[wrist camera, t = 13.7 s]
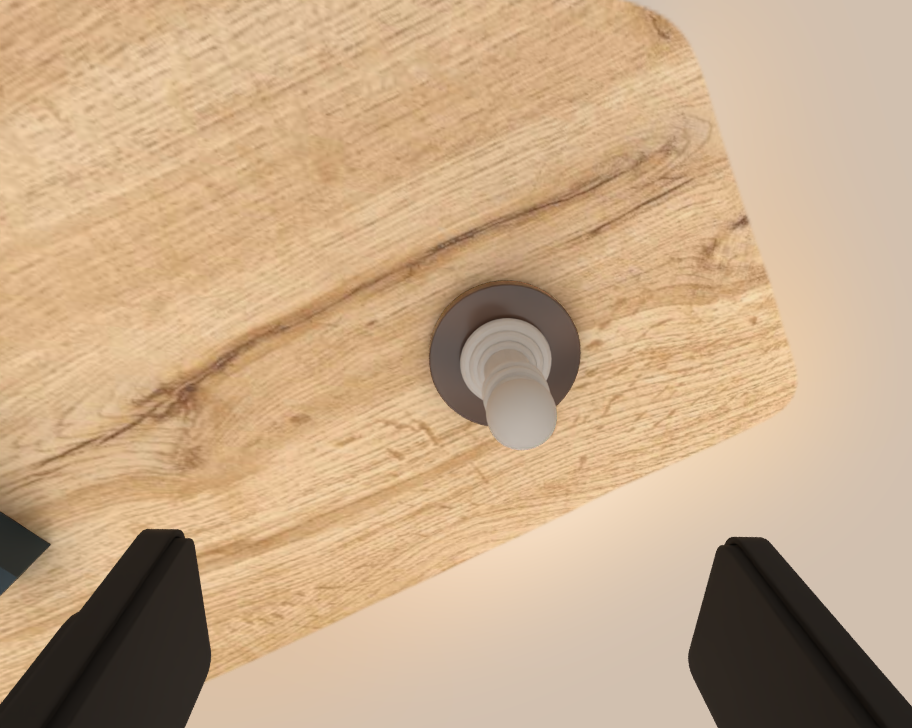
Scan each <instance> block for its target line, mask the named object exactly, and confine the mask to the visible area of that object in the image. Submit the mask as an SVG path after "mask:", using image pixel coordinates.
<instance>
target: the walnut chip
mask: <svg viewBox="0 0 912 728" xmlns="http://www.w3.org/2000/svg"><path fill="white" fill-rule="evenodd" d="M503 318H512V319H518V320H522V321H525V322H527V323H529V324H531V325H533V326H534V327H536V328H537V329H538V330H539V331H540V332H541V333H542V334H543V336H544V337H545V338H546V340H547V342H548V344H549V347H550V351H551V358H552V359H551V368H550V373H549V376H548V378H547V380H546V382H547V383H548V386H549V389H550V394H551V395H552V397H553V399H554V402H555V405H556V406H557V405H558V404H559V403H560V402H561V401H562V400H563V398H564V397H565V396H566V394H567V393H568V392H569V390H570V389H571V387H572V385H573V383H574V381H575V378H576V375H577V373H578V369H579V364H580V354H581V352H580V341H579V336H578V333H577V330H576V327H575V325H574V323H573V321H572V319H571V317H570V316H569V315H568V313H567V312H566V310H565V309H564V308H563V307H562V306H561V305H560V304H559V303H558V302H557V301H556V300H555V299H554V298H553V297H552V296H551V295H549V294H548V293H547V292H545V291H543V290H541V289H540V288H538V287H535V286H533V285H530V284H527V283H523V282H518V281H494V282H488V283H485V284H481V285H479V286H476V287H474V288H471V289H470V290H468V291H466V292H464V293H463V294H461V295H460V296H459V297H457V298H456V299H455V300H454V301H453V302H452V303H451V304H450V305H449V306H448V307H447V308H446V309H445V310H444V312H443V313H442V314H441V316H440V318H439V319H438V321H437V323H436V325H435V328H434V330H433V333H432V337H431V341H430V349H429V365H430V372H431V376H432V379H433V382H434V385H435V387H436V389H437V391H438V393H439V394H440V396H441V397H442V399H443V400H444V401H445V402H446V403H447V405H448V406H449V407H450V408H452V409H453V410H454V411H455V412H456V413H458V414H459V415H461V416H462V417H464V418H466V419H468V420H470V421H472V422H475V423H478V424H481V425H485V426H488V423H487V418H486V410H485V407H484V403H483V400H482V399H480V398H479V397H477V396H476V395H475V394H474V393H473V392H472V391H471V390H470V389H469V388H468V387H467V385H466V383H465V382H464V379H463V377H462V374H461V369H460V358H461V353H462V349H463V347H464V345H465V343H466V341H467V339H468V338H469V337H470V336H471V334H472V333H473V332H474V331H475V330H477V329H478V328H479V327H480V326H482V325H484V324H486V323H488V322H490V321H493V320H497V319H503Z"/></svg>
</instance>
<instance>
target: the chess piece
mask: <svg viewBox="0 0 912 728" xmlns="http://www.w3.org/2000/svg"><path fill="white" fill-rule="evenodd" d="M551 359H552V358H551V351H550V347H549V344H548V342H547V340H546V338H545V337H544V336H543V334H542V333H541V332H540V331H539V330H538V329H537V328H536V327H534V326H533V325H531V324H529V323H527V322H525V321H522V320H518V319H512V318H503V319H497V320H493V321H490V322H488V323H486V324H484V325H482V326H480V327H479V328H478V329H477V330H475V331H474V332H473V333H472V334H471V336H470V337H469V338H468V339H467V341H466V343H465V345H464V347H463V349H462V353H461V358H460V369H461V374H462V377H463V379H464V382H465V383H466V385H467V387H468V388H469V389H470V390H471V391H472V392H473V393H474V394H475V395H476V396H477V397H479V398H480V399H482V400H483V403H484V407H485V410H486V418H487V423H488V426H489V429H490V431H491V433H492V435H493V436H494V437H495V439H496V440H497V441H498V442H500V443H501V444H502V445H504V446H506V447H508V448H511V449H516V450H528V449H532V448H535V447H537V446H539V445H541V444H543V443H544V442H545V441H546V440H548V439H549V437H550V436H551V435H552V433H553V431H554V429H555V426H556V421H557V410H556V405H555V402H554V399H553V397H552V395H551V394H550V389H549V386H548V383H547V382H546V380H547V378H548V376H549V373H550V368H551Z"/></svg>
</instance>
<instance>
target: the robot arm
mask: <svg viewBox="0 0 912 728" xmlns="http://www.w3.org/2000/svg"><path fill="white" fill-rule="evenodd" d="M688 661H689V668H690V671H691V674H692V676H693V679H694V680H695V683H696V685H697V687H698V689H699V690H700V693H701V695H702V697H703V699H704V701H705V703H706V705H707V707H708V709H709V711H710V713H711V715H712V717H713V719H714V721H715V723H716V725H717V727H718V728H912V706H911V705H910V704H909V703H908V702H907V700H906V699H905V698H904V697H903V696H902V695H901V694H900V693H899V691H898V690H897V689H896V688H895V687H894V686H893V684H892V683H891V682H890V681H889V680H888V678H887V677H886V676H885V675H884V674H883V673H882V671H881V670H880V669H879V668H878V667H877V666H876V665H875V663H874V662H873V661H872V660H871V659H870V658H869V656H868V655H867V654H866V653H865V652H864V651H863V650H862V648H861V647H860V646H859V645H858V644H857V643H856V641H855V640H854V639H853V638H852V637H851V636H850V634H849V633H848V632H847V631H846V630H845V629H844V628H843V626H842V625H841V624H840V623H839V622H838V621H837V619H836V618H835V617H834V616H833V615H832V614H831V613H830V611H829V610H828V609H827V608H826V607H825V606H824V604H823V603H822V602H821V601H820V600H819V599H818V597H817V596H816V595H815V594H814V593H813V592H812V591H811V589H810V588H809V587H808V586H807V585H806V584H805V582H804V581H803V580H802V579H801V578H800V577H799V576H798V574H797V573H796V572H795V571H794V570H793V569H792V567H791V566H790V565H789V564H788V563H787V562H786V561H785V559H784V558H783V557H782V556H781V555H780V554H779V552H778V551H777V550H776V549H775V548H774V547H773V545H772V544H771V543H770V542H769V541H768V540H766V539H764V538H761V537H731V538H729V539H728V540H727V541H726V543H725V545H721V546H719V547H718V549H717V551H716V554H715V558H714V562H713V565H712V569H711V573H710V576H709V580H708V584H707V587H706V591H705V594H704V598H703V602H702V605H701V609H700V613H699V616H698V620H697V624H696V628H695V631H694V635H693V638H692V642H691V646H690V649H689V654H688ZM210 662H211V648H210V642H209V635H208V629H207V622H206V616H205V609H204V603H203V596H202V590H201V584H200V577H199V571H198V564H197V558H196V551H195V545H194V541H193V540H192V539H190V538H185V536H184V533H183V532H182V531H181V530H178V529H146V530H143V531H142V532H141V533H140V534H139V535H138V536H137V537H136V539H135V540H134V541H133V543H132V544H131V545H130V547H129V548H128V549H127V550H126V552H125V553H124V554H123V556H122V557H121V558H120V560H119V561H118V562H117V563H116V565H115V566H114V567H113V569H112V570H111V571H110V573H109V574H108V575H107V576H106V578H105V579H104V580H103V582H102V583H101V584H100V586H99V587H98V588H97V589H96V591H95V592H94V593H93V595H92V596H91V597H90V599H89V600H88V601H87V602H86V604H85V605H84V606H83V608H82V609H81V610H80V611H79V612H77V613H76V614H74V615H72V616H71V617H70V618H69V619H68V620H67V621H66V622H65V623H64V624H63V625H62V626H61V628H60V629H59V630H58V631H57V633H56V634H55V635H54V637H53V638H52V639H51V640H50V642H49V643H48V644H47V646H46V647H45V648H44V649H43V651H42V652H41V653H40V654H39V656H38V657H37V658H36V660H35V661H34V662H33V663H32V665H31V666H30V667H29V669H28V670H27V671H26V672H25V674H24V675H23V676H22V677H21V679H20V680H19V681H18V683H17V684H16V685H15V686H14V688H13V689H12V690H11V691H10V693H9V694H8V695H7V697H6V698H5V699H4V700H3V702H2V703H1V704H0V728H185V726H186V723H187V721H188V719H189V716H190V714H191V712H192V710H193V707H194V705H195V703H196V700H197V698H198V696H199V693H200V691H201V689H202V686H203V684H204V682H205V679H206V677H207V674H208V671H209V667H210Z"/></svg>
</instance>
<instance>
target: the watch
mask: <svg viewBox="0 0 912 728" xmlns="http://www.w3.org/2000/svg"><path fill="white" fill-rule="evenodd" d="M49 546H50V544H49V543H47V542H46V541H44V540H43V539H41V538H39V537H38V536H36V535H35V534H33V533H32V532H30V531H29V530H27V529H26V528H24V527H23V526H21V525H20V524H18V523H17V522H15V521H14V520H12V519H10V518H9V517H7V516H6V515H4V514H3V513H1V512H0V596H1V595H2V594H3V593H4V592H5V591H6V590H7V589H8V588H9V587H10V586H11V585H12V584H13V583H14V582H15V581H16V580H17V579H18V578H19V577H20V576H21V575H22V574H23V573H24V572H25V571H26V570H27V568H28V567H29V566H30V565H31V564H32V563H33V562H34V561H35V560H36V559H37V558H38V557H39V556H40V555H41V554H42V553H43V552H44V551H45V550H46V549H47V548H48V547H49Z"/></svg>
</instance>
